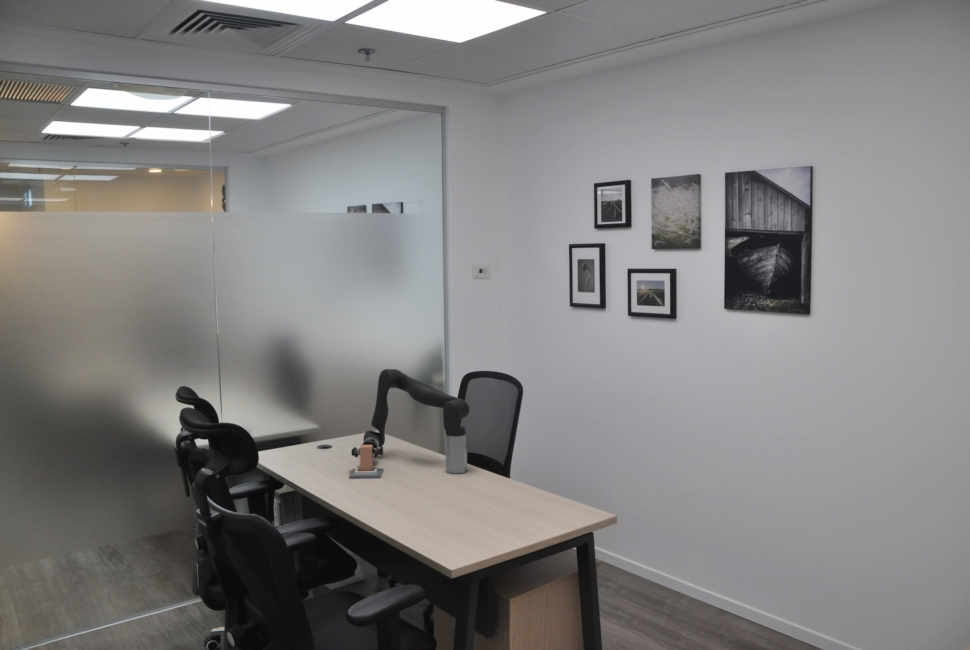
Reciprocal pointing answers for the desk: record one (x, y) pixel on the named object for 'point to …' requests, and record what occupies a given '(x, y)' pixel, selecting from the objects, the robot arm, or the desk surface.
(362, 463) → the column
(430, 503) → the desk surface
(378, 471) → the baseplate
